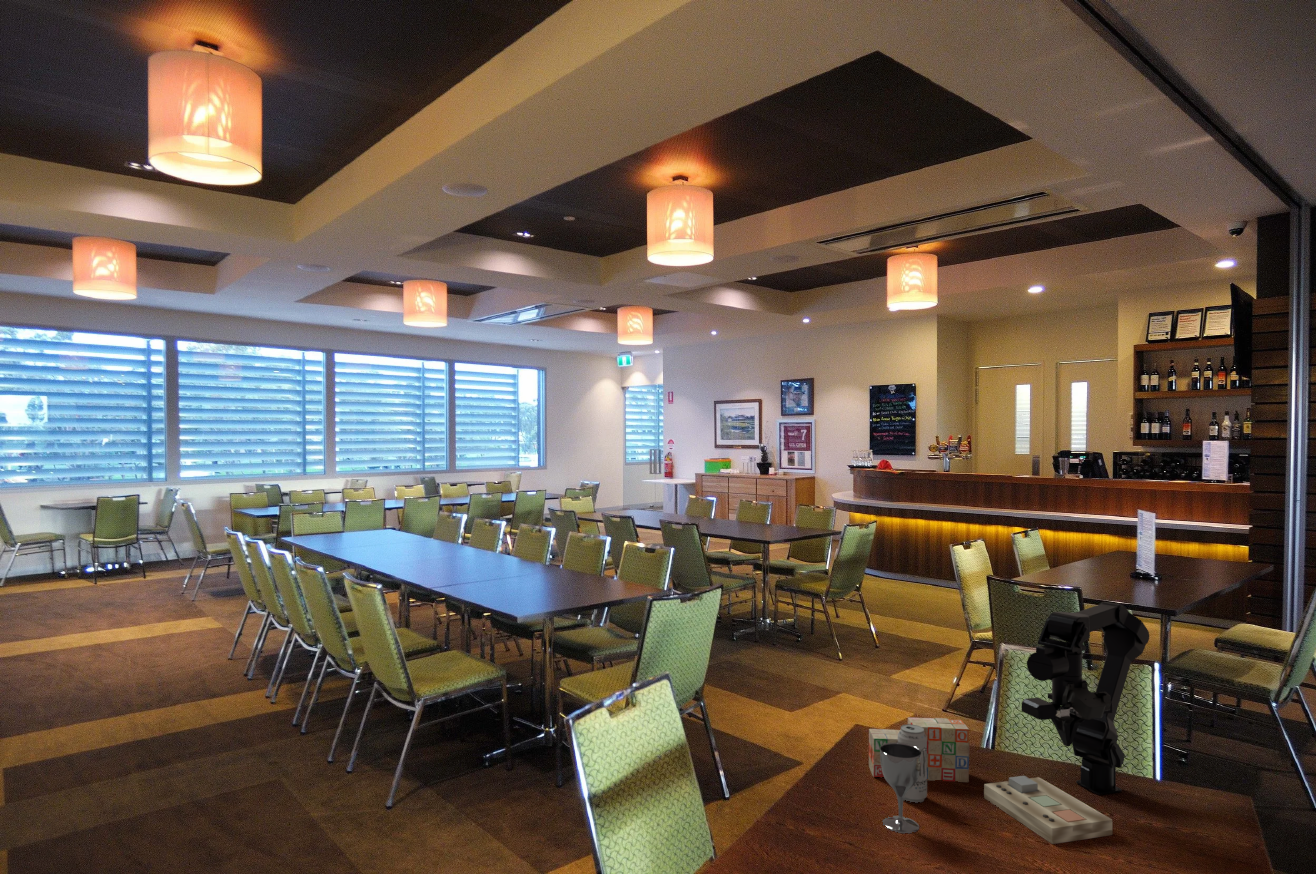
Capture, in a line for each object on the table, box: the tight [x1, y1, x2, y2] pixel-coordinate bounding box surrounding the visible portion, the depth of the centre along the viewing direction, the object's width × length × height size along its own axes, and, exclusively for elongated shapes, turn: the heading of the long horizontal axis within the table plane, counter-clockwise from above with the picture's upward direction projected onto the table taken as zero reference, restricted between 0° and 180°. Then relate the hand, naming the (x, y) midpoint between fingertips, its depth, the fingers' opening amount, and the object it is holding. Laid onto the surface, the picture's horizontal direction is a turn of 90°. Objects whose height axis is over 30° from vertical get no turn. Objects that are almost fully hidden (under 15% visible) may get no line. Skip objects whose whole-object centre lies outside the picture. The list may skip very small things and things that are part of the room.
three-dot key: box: [1008, 775, 1038, 793], centre depth 168 cm, size 4×4×2 cm
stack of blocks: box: [868, 717, 970, 783], centre depth 182 cm, size 21×6×12 cm, turn 85°
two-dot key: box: [1053, 810, 1085, 822], centre depth 156 cm, size 4×4×2 cm
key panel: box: [983, 776, 1113, 845], centre depth 162 cm, size 14×20×3 cm
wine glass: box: [880, 743, 921, 834], centre depth 158 cm, size 8×8×15 cm
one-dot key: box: [1030, 796, 1060, 807], centre depth 162 cm, size 4×4×2 cm
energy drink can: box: [898, 723, 928, 804], centre depth 170 cm, size 6×6×15 cm
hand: (1066, 745), depth 168 cm, fingers closed
